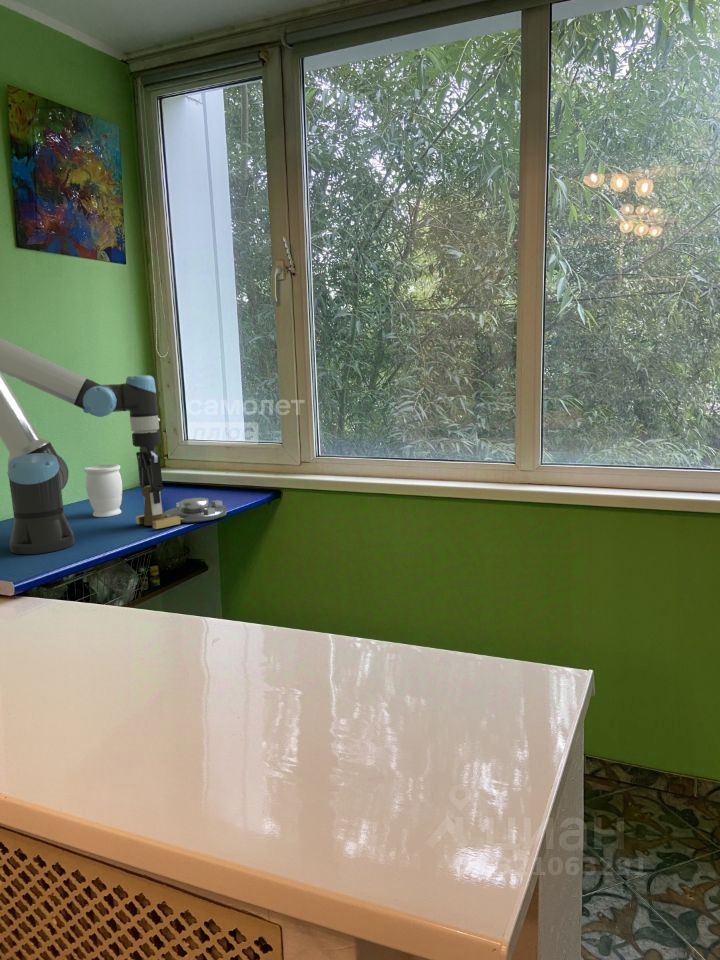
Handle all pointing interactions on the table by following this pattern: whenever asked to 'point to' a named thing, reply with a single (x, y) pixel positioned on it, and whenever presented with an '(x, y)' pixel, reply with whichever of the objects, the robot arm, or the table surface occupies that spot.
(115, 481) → the jar
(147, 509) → the cork
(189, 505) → the grey disc with block
